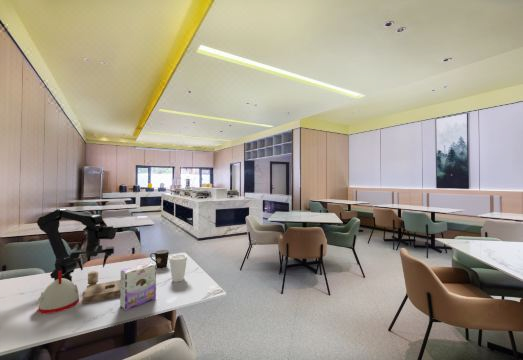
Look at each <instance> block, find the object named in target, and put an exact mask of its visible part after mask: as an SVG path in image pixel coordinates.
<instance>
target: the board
mask: <svg viewBox="0 0 523 360" xmlns="http://www.w3.org/2000/svg"><path fill="white" fill-rule="evenodd" d="M120 286H121V279H119V280H118V279H117V280H114V281H113V280H112V281H107V282H101V283H97V284H94V285H89V284H88V285H86V289H85V291H84V294H83V297H82V304H90V303H93V302H98V301H104V300H109V299H113V298H119V297H120Z"/></svg>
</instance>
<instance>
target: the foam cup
mask: <svg viewBox="0 0 523 360" xmlns="http://www.w3.org/2000/svg"><path fill="white" fill-rule="evenodd" d="M168 260H169V261H168V262H169V264H170V273H171V281H172V282H175V283H178V282H179V281H180V282H182V281H184V280H185V273H186V268H187V267H186V266H187V260H188V257H187V254H174V255H171V256H169V257H168ZM183 279H184V280H183Z"/></svg>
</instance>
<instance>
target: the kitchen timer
mask: <svg viewBox="0 0 523 360" xmlns="http://www.w3.org/2000/svg"><path fill="white" fill-rule="evenodd" d="M39 297H40V298H39V300H38V301H39V303H38V307H37V308H38V309H37V310H38V313H41V314H46V315H47V314H54V313H58V312H62V311H65V310H69V309H71V308H73V307H75V305H77V304H78V303H79V302H80V294H79V289H78V286H77V284H74V283H73V281H72V282H71V281H70V280H68V279H64V278H61V271H59V273H58V279H57V280H55V281H54V280H53V281H52V282H51V283H49V285H48V286H47V287H46V288H45V290H44V291H42V292H41V293H40V296H39Z"/></svg>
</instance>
